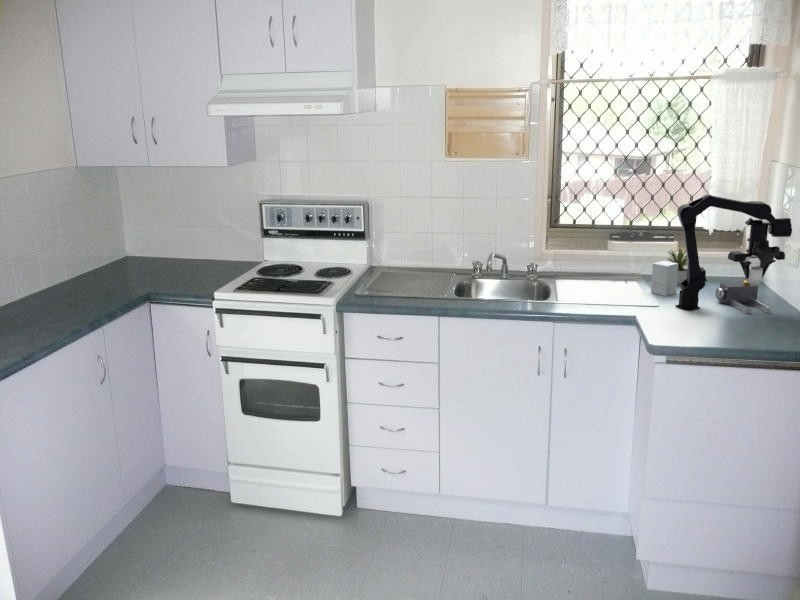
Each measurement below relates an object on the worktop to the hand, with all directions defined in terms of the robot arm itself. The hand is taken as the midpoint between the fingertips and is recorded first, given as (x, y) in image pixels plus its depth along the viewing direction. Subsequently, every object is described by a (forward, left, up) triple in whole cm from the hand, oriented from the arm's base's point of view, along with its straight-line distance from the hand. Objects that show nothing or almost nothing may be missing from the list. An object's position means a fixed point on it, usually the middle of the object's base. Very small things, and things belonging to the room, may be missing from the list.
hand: (754, 278), depth 265 cm
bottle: (0, 0, -2) cm, 2 cm away
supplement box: (-33, -11, -13) cm, 37 cm away
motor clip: (-4, +1, -12) cm, 13 cm away
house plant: (-41, +4, -13) cm, 43 cm away
